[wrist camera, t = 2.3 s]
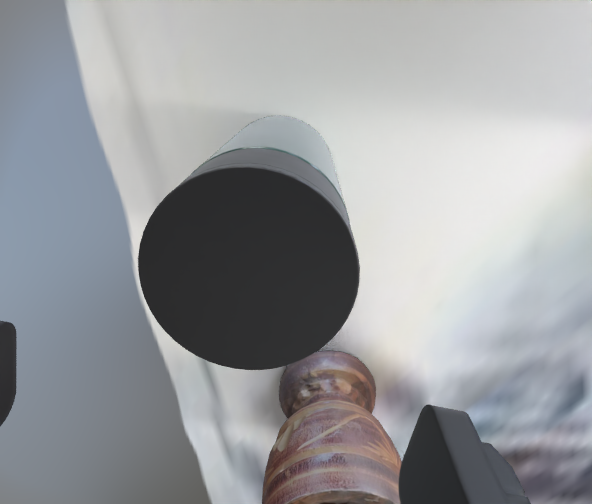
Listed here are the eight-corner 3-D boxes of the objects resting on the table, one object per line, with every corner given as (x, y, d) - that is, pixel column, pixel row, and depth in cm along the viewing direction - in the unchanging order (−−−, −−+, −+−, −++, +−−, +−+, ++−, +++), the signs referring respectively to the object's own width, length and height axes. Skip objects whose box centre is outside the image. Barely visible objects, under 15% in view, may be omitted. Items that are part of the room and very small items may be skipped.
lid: (162, 144, 17) (128, 160, 14) (358, 152, 17) (370, 171, 14) (172, 317, 19) (146, 366, 16) (343, 325, 19) (350, 375, 16)
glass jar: (223, 113, 29) (133, 156, 14) (337, 117, 29) (368, 166, 14) (225, 222, 32) (151, 356, 17) (330, 226, 32) (349, 365, 17)
